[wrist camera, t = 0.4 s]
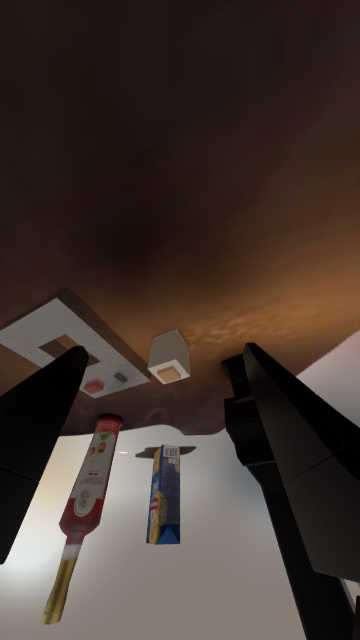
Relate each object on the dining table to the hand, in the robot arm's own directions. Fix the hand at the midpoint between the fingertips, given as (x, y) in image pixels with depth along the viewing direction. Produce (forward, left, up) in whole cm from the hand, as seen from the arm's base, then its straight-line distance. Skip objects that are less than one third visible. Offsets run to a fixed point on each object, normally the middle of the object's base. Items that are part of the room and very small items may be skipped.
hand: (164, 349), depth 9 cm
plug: (-11, +7, -13) cm, 19 cm away
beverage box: (-63, +38, -14) cm, 75 cm away
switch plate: (-6, +21, -13) cm, 25 cm away
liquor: (-30, +37, -14) cm, 49 cm away
